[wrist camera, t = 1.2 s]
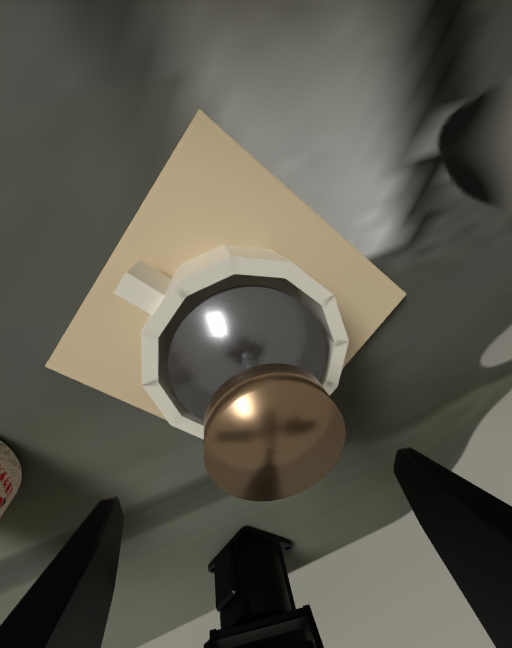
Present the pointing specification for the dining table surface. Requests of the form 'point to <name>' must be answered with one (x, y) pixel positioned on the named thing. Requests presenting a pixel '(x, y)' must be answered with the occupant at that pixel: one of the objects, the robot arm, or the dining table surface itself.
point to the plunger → (257, 391)
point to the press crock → (215, 273)
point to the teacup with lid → (8, 476)
